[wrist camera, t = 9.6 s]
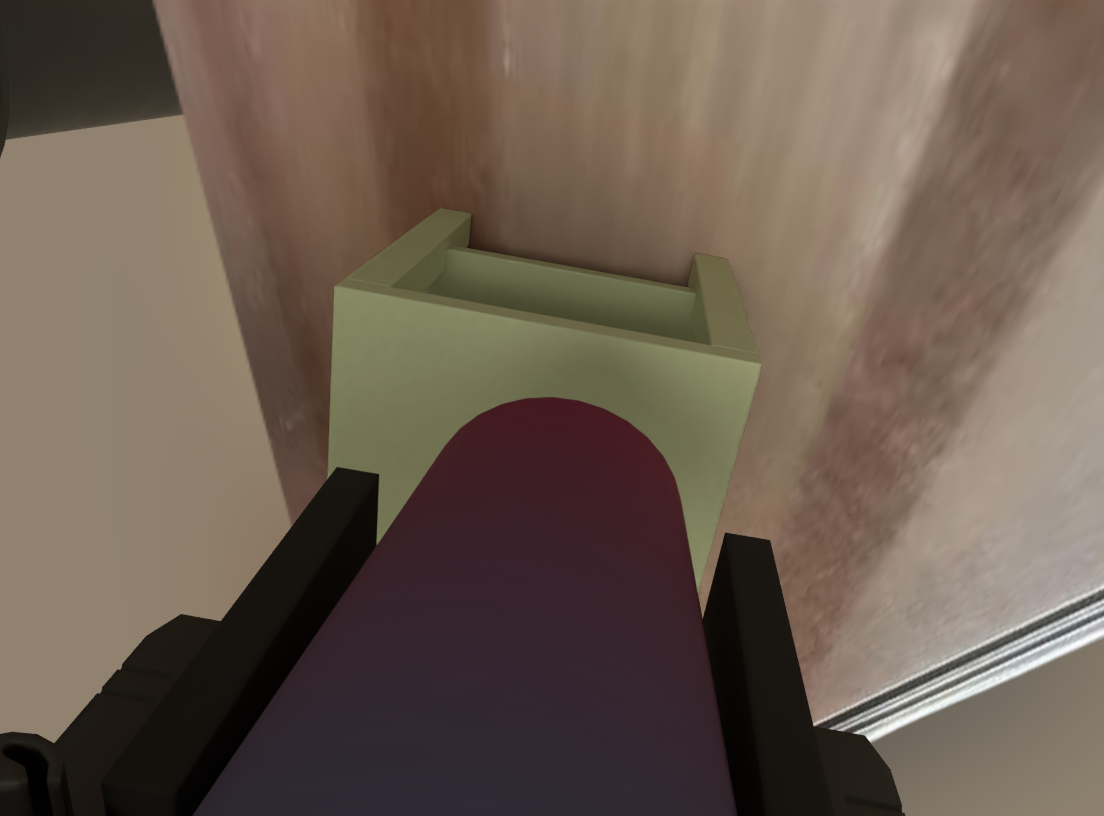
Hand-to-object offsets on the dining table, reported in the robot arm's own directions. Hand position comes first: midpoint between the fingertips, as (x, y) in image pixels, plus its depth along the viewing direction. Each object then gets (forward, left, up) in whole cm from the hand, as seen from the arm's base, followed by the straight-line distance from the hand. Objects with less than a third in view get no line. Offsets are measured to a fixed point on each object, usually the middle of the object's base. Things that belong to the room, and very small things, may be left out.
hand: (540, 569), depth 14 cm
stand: (-2, -6, -27) cm, 27 cm away
